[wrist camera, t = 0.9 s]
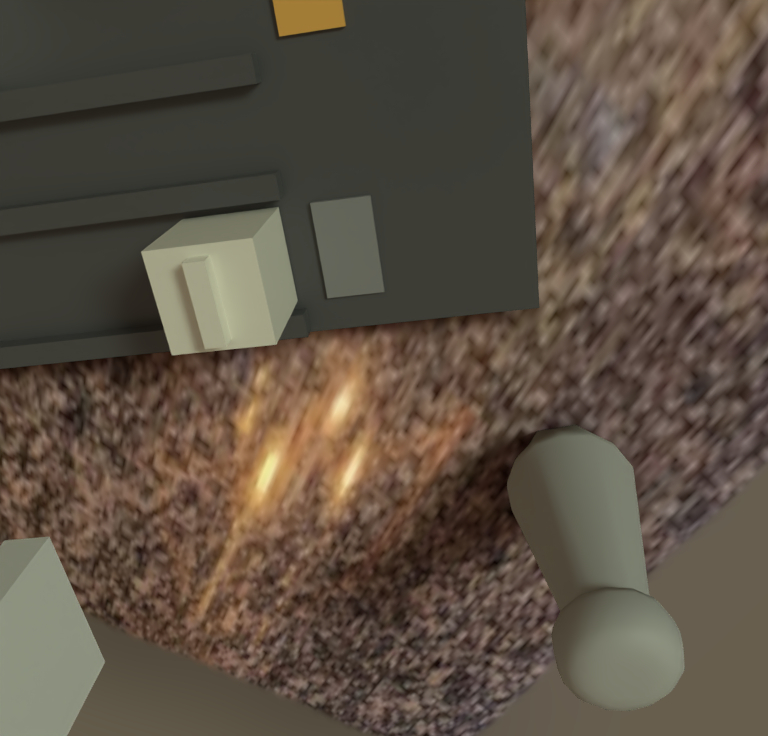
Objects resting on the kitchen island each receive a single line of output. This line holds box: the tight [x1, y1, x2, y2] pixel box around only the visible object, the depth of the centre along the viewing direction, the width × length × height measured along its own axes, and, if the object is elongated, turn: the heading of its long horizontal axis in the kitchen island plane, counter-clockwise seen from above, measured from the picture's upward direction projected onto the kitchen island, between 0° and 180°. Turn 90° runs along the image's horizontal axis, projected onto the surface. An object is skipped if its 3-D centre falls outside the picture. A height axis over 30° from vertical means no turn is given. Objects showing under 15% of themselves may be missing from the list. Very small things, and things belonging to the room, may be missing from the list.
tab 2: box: [141, 207, 298, 355], centre depth 27 cm, size 4×4×5 cm
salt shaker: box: [507, 425, 685, 711], centre depth 29 cm, size 6×6×13 cm
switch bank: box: [0, 0, 539, 369], centre depth 28 cm, size 17×28×3 cm, turn 98°
